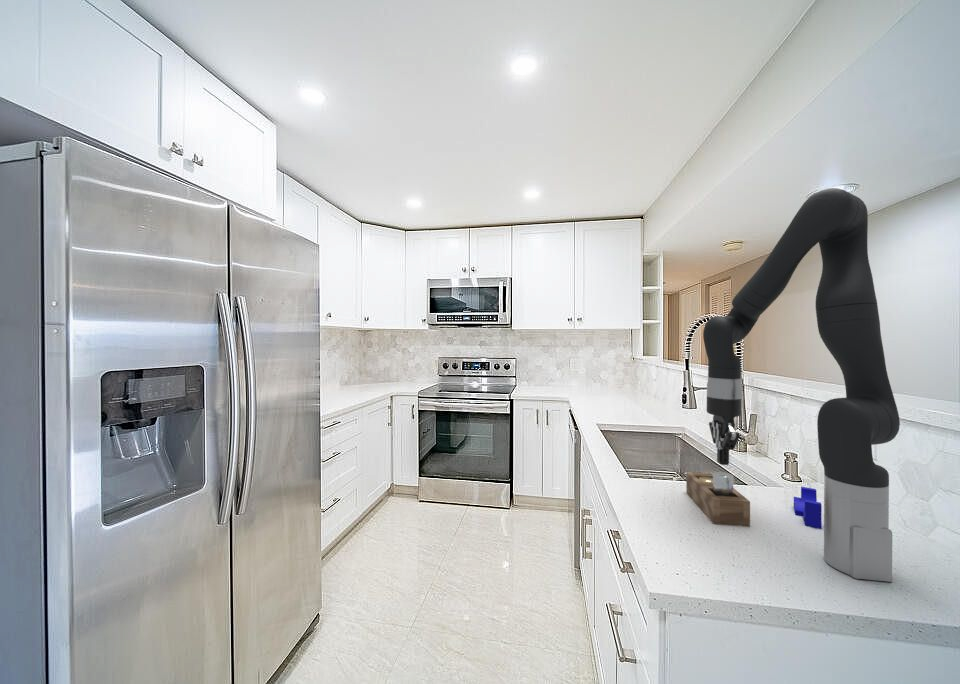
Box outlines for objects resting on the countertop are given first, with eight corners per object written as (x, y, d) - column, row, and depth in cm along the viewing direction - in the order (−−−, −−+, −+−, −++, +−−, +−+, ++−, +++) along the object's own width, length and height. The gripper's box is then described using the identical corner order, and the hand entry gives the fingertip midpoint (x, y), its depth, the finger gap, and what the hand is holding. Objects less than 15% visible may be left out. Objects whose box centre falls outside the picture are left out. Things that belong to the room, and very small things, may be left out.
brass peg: (719, 502, 108) (719, 482, 108) (702, 501, 109) (702, 481, 109) (713, 496, 112) (713, 477, 112) (696, 495, 113) (696, 476, 113)
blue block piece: (793, 507, 106) (793, 485, 106) (815, 511, 104) (815, 489, 104) (797, 524, 96) (797, 500, 96) (821, 530, 94) (821, 504, 94)
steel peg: (736, 500, 98) (736, 478, 98) (717, 499, 99) (717, 477, 99) (728, 493, 102) (728, 472, 102) (710, 492, 103) (710, 471, 103)
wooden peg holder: (750, 526, 95) (750, 501, 95) (713, 523, 96) (713, 499, 96) (716, 494, 115) (716, 473, 115) (686, 492, 116) (686, 472, 116)
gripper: (753, 400, 93) (751, 473, 94) (729, 392, 106) (728, 456, 107) (718, 399, 95) (717, 471, 95) (698, 391, 108) (697, 455, 108)
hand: (722, 463), depth 101 cm, fingers closed
